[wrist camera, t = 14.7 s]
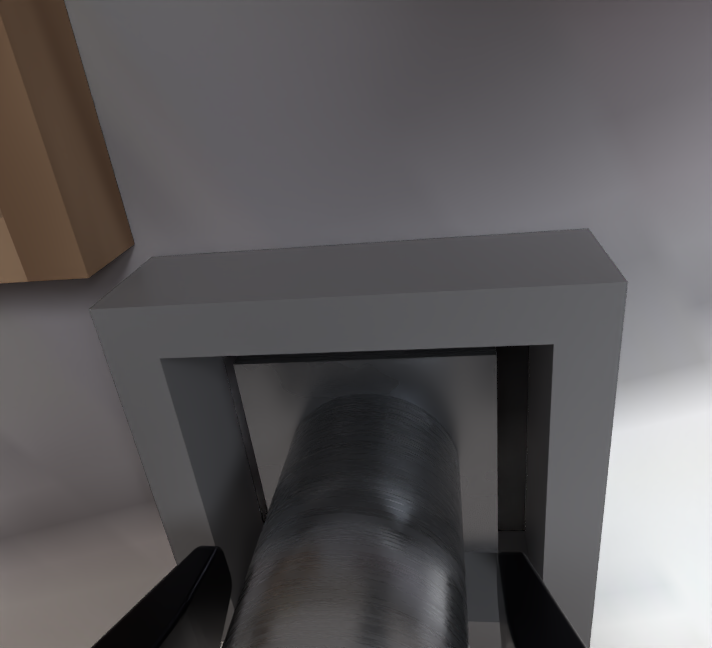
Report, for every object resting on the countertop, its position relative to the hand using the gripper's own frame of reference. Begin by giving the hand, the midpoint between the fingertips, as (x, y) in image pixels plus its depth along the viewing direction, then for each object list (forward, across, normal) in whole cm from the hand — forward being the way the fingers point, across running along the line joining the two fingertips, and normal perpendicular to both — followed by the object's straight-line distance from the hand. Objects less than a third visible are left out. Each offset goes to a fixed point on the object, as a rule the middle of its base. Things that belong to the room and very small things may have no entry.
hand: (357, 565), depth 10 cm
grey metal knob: (+4, 0, 0) cm, 4 cm away
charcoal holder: (+4, 0, 0) cm, 4 cm away
